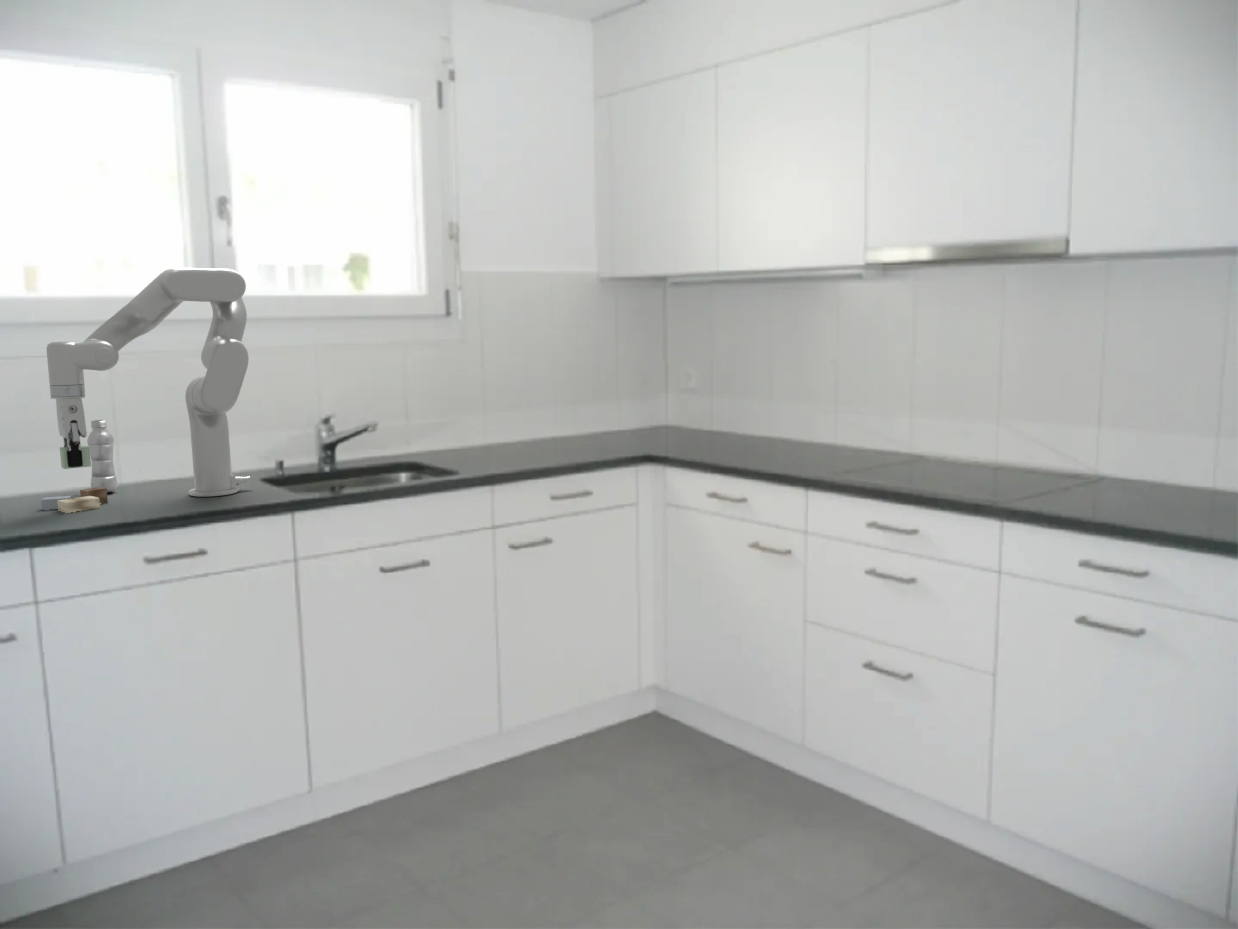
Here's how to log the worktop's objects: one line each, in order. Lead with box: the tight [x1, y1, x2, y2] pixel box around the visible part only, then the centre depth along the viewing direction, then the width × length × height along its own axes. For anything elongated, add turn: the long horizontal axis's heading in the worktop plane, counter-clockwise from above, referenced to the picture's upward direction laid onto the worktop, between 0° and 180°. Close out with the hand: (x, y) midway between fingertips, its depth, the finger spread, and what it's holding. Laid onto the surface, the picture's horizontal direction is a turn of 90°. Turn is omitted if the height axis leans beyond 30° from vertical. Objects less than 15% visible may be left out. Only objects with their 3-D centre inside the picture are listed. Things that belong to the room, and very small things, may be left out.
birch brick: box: [57, 496, 101, 514], centre depth 250 cm, size 8×5×3 cm, turn 141°
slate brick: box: [40, 495, 72, 511], centre depth 252 cm, size 6×4×3 cm, turn 105°
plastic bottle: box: [86, 419, 118, 494], centre depth 272 cm, size 6×7×20 cm
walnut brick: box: [79, 487, 109, 504], centre depth 258 cm, size 5×4×4 cm
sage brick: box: [59, 444, 92, 470], centre depth 249 cm, size 6×4×5 cm, turn 128°
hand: (73, 464), depth 249 cm, fingers closed on sage brick, 3 cm apart
